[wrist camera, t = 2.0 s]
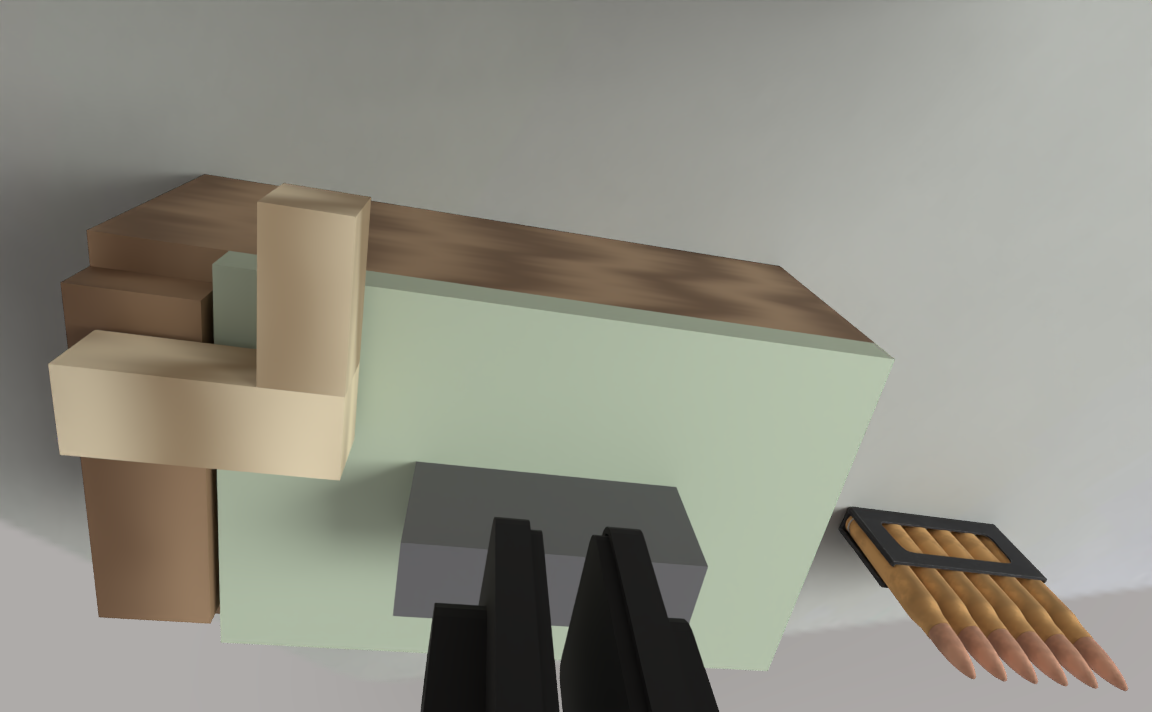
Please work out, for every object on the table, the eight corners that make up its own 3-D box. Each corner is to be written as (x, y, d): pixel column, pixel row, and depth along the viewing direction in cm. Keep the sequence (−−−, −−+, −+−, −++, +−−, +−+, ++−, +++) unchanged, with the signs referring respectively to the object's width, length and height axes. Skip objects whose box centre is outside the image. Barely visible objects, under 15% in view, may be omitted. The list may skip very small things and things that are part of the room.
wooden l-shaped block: (371, 196, 21) (355, 216, 19) (354, 438, 24) (339, 480, 22) (77, 150, 19) (22, 164, 17) (102, 412, 23) (59, 454, 20)
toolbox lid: (875, 343, 27) (969, 420, 22) (756, 645, 33) (807, 763, 28) (228, 250, 23) (146, 317, 18) (233, 614, 29) (173, 745, 24)
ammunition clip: (837, 529, 44) (948, 690, 33) (847, 505, 43) (965, 662, 32) (982, 546, 46) (1132, 704, 35) (995, 524, 45) (1152, 678, 34)
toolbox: (780, 266, 36) (897, 361, 25) (701, 515, 42) (769, 674, 32) (204, 174, 31) (56, 244, 21) (212, 470, 38) (101, 640, 27)
